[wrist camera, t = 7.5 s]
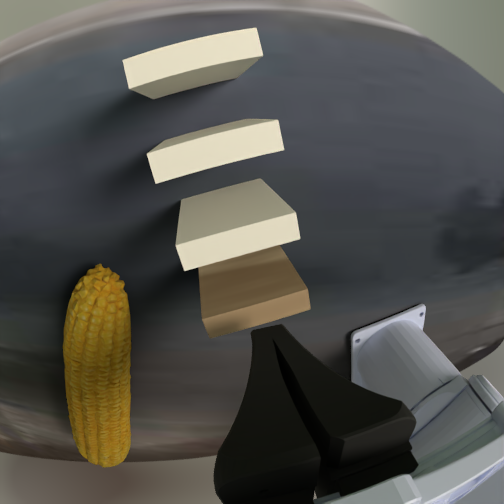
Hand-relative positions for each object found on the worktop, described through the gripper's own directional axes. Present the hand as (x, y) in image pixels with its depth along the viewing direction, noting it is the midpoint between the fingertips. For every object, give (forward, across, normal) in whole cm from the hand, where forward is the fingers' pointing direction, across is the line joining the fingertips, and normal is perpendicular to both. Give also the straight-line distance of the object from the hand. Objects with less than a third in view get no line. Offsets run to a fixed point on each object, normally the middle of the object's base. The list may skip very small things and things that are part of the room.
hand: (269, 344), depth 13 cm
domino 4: (+9, 0, 0) cm, 9 cm away
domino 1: (+9, +1, -12) cm, 15 cm away
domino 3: (+9, 0, -4) cm, 10 cm away
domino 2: (+9, +1, -8) cm, 12 cm away
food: (+9, +13, +8) cm, 18 cm away
